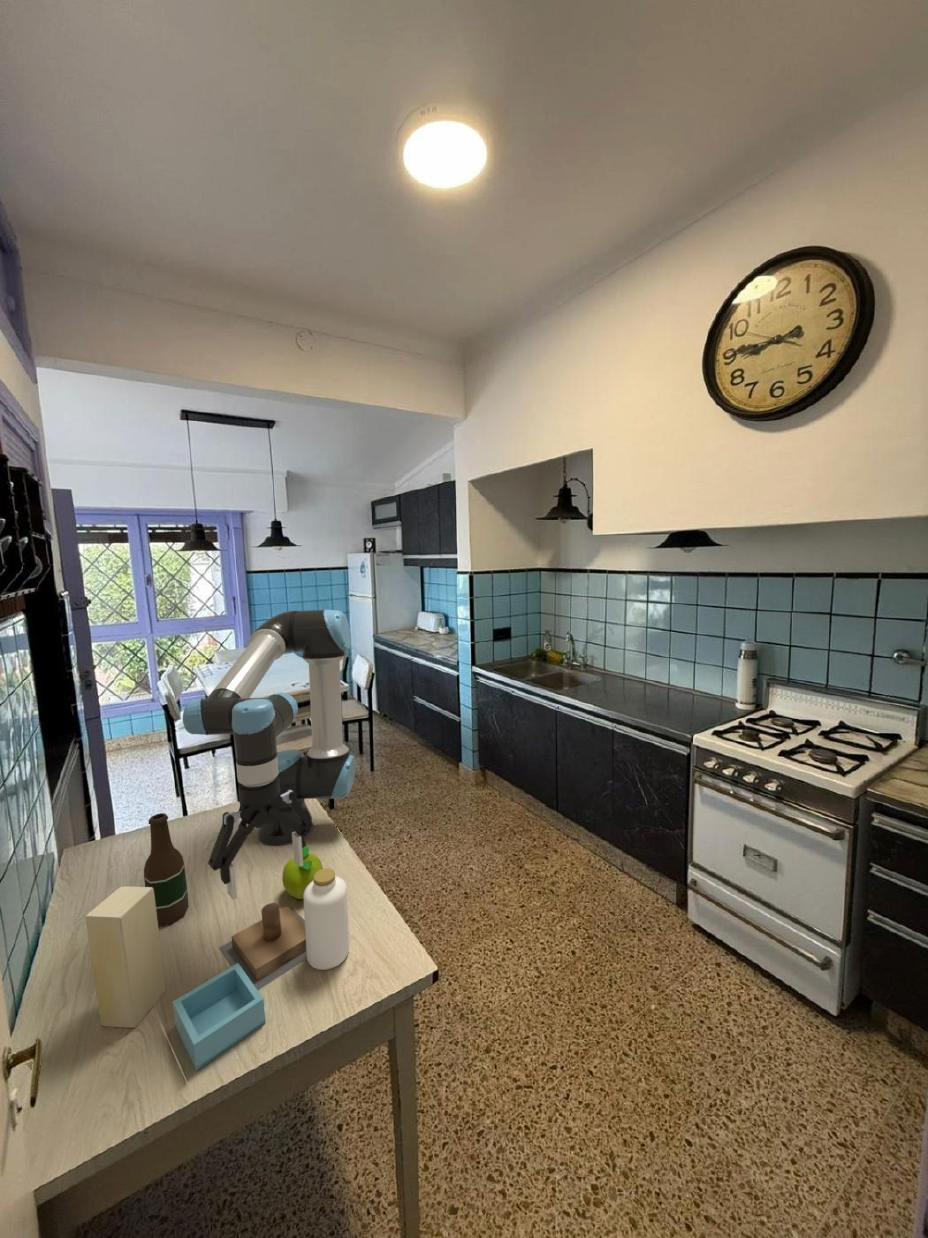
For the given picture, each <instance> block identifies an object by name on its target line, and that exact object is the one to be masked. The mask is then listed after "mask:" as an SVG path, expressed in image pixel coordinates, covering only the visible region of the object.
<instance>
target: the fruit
mask: <svg viewBox="0 0 928 1238" xmlns="http://www.w3.org/2000/svg"><path fill="white" fill-rule="evenodd" d="M302 853H303V866H301V867H300V866H298V865H297V864H296V863H295V862H294V857H293V858H291V859H289V860H288V861H287V862H286V863H285V865H284V867H283V870H282V877H281V880H282V881H281V882H282V886H283V888H284V889H285V890H286V892H287V893H288V894H289V895H290V896H291V897H293V898H295V899H298V900H304V891H305V889H306V887H307V886H308V885H309V884H310V883H311V882H312V881H313V880H314V875H315V873H316V872H317V871H319V870H321V869H324V868H323V864H322V860H321V859H320V858H319V857H318V856H317V855H315V854H314V853H310V846H305V847H304V848H302Z"/></svg>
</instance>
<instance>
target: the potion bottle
mask: <svg viewBox="0 0 928 1238" xmlns="http://www.w3.org/2000/svg"><path fill="white" fill-rule="evenodd" d="M348 902H349V901H348V887H347V883H346V882H345V881H344V879H342V878H341V877H339V876H337V875H336V871H335V869H333V868H328V867H325V868H323V869H321V870H319V871H317V872H316V873H315V875H314V880H313V881H312V882H311V883H310V884H309V885H308V886H307V887H306V889H305V891H304V899H303V913H304V920H305V934H306V952H307V959H306V960H307V963H308V965H310V966H311V967H312V968H314V969H316V970H320V971H321V970H323V971H325V970H331V969H334V968H336V967H337V966H339V965H340V964H342V962H344V961H345V959H346V958H347V956H348V954H349V950H350V939H349V938H350V931H349V929H350V928H349V906H348V905H349V904H348Z"/></svg>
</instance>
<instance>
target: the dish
mask: <svg viewBox="0 0 928 1238" xmlns="http://www.w3.org/2000/svg"><path fill="white" fill-rule="evenodd" d="M172 1008H173V1016H174V1024H175V1028H176V1030H177V1032H178V1034H179V1036H180V1038H181V1041H182V1042H183V1046H184V1047H185V1049H186V1051H187V1053H188V1055H189V1058H190V1060H191V1062H192V1064H193V1066H194V1069H195V1070H196V1072H199V1070H201V1069H202V1068H204V1067H206V1066H207V1065H208V1064H209V1063H211V1062H212V1061H214V1060H215V1059H217V1058H219V1056H221V1055H223V1054H224V1053H225V1052H227V1051H228V1050H230V1049H232V1047H234V1046H235V1045H237V1044H238V1043H239V1042H241V1041H242V1040H244V1039H245V1038H246V1037H248V1036H250V1035H251V1034H252V1033H254V1032H255V1031H256V1030H258V1029H259V1028H261V1027H262V1026H264V1025H265V1024H266V1022H267V1021H266V1013H265V1012H266V1011H265V1001H264V997H263V996H262V995H261V993H260V992H259V990H257V989H256V988H255V986H254V985H253V983H252V982H251V980H250V979H249V978H248V976H247V975H246V973H245V972H244V970H243V969H242V968H241V966H240V965H239V963H237V964H235V965H234V966H232V967H231V966H230V967H229V968H227V969H225V970H224V971H221V972H220V973H219V974H217V975H215V976H214V977H212V978H210V979H208V980H206V981H205V982H203V983H202V984H199V985H198V986H196V987H195V988H193V989H191V990H190V991H187V992H186V993H185V994H183V995H181V996H179V997H178V998H176V999H174V1000H173V1001H172Z"/></svg>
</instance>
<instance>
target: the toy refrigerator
mask: <svg viewBox="0 0 928 1238" xmlns="http://www.w3.org/2000/svg"><path fill="white" fill-rule="evenodd" d="M85 924H86V930H87V937H88V942H89V943H88V945H89V950H90V957H91V965H92V971H93V977H94V985H95V991H96V999H97V1005H98V1014H99V1020H100V1021H99V1022H100V1024H101V1026H103V1027H110V1028H111V1027H116V1028H125V1029H126V1028H129V1029H130V1028H132V1029H134V1028H136V1027H138V1026H139V1024H140V1023H141V1022H142V1020H144V1018H145V1017H146V1016H147V1014H148V1013H149V1012H150V1010H151V1009H152V1008H153V1007H154V1005H155V1004H156V1003H157V1001H158V1000H159V999H160V997H161V996H162V995H163V993H164V992H165V991H166V989H167V988H166V979H165V978H166V977H165V969H164V964H163V963H164V962H163V956H162V955H163V953H162V947H161V946H162V945H161V938H160V933H159V931H160V929H159V927H158V921H157V912H156V904H155V895H154V889H153V888H152V887H145V886H128V885H127V886H126V885H125V886H119V887H118V888H117V889H115V891H113V892H112V893H111V894H110V895H109V896H107V897H106V898H105V899H104V900H103V901H102V902H100V903H99V904H98V905H97V906H96V907H94V908H93V909H92V910H91V911H90V912H88V913H87V914H86V915H85Z"/></svg>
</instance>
